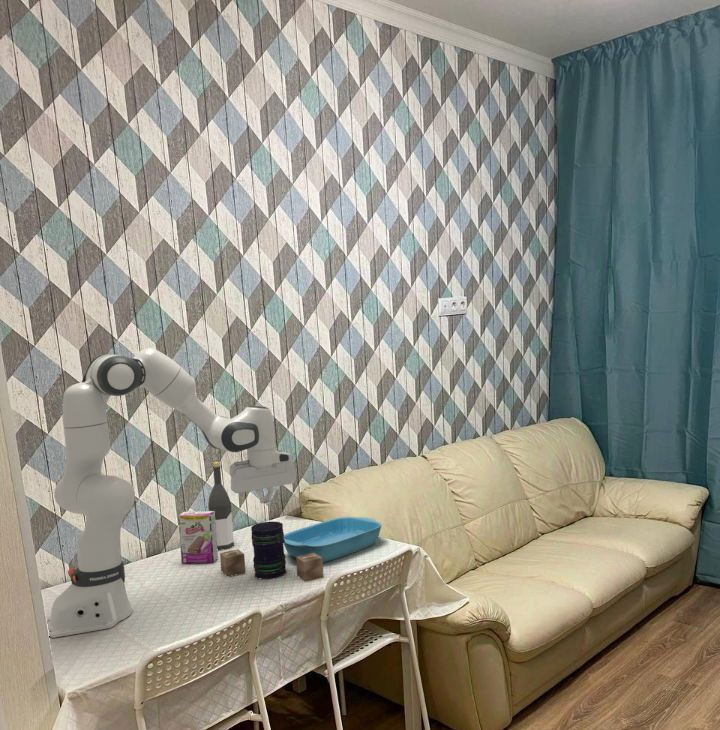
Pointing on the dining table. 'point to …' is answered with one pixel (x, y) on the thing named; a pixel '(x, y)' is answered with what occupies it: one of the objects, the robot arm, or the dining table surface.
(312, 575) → the walnut block one
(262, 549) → the dark blue rusty barrel
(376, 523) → the casserole dish
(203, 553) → the candy bar box
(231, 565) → the walnut block seven
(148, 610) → the dining table surface
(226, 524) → the wine bottle
